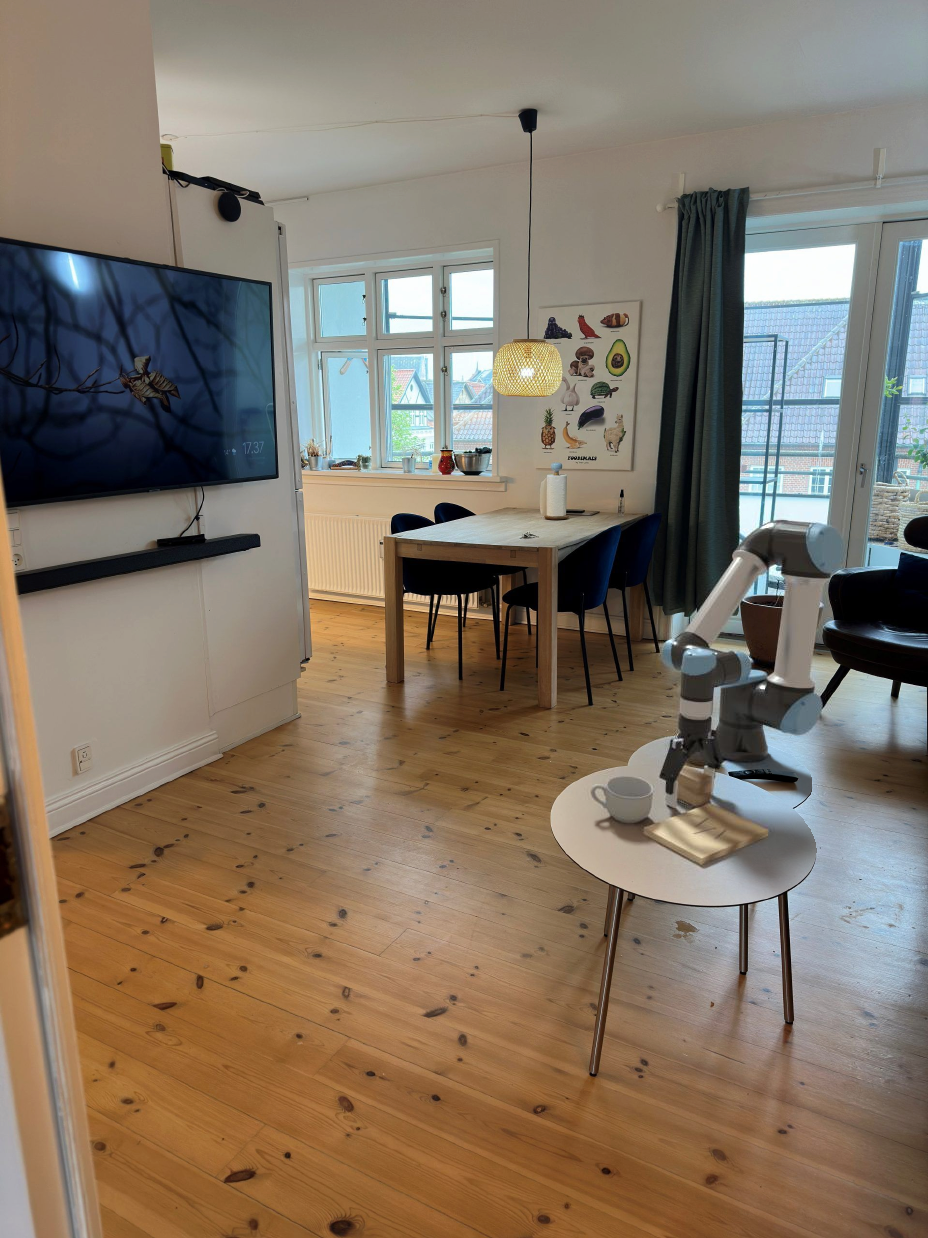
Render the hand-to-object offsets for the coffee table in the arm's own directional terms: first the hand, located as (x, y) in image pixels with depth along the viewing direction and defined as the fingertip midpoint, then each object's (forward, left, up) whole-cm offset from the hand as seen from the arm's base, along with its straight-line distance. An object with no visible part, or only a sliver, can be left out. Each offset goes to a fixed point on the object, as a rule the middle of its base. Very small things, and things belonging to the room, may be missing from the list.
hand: (689, 799), depth 196 cm
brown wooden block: (0, 0, 0) cm, 0 cm away
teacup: (+20, -3, 0) cm, 20 cm away
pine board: (+11, +14, 0) cm, 18 cm away
